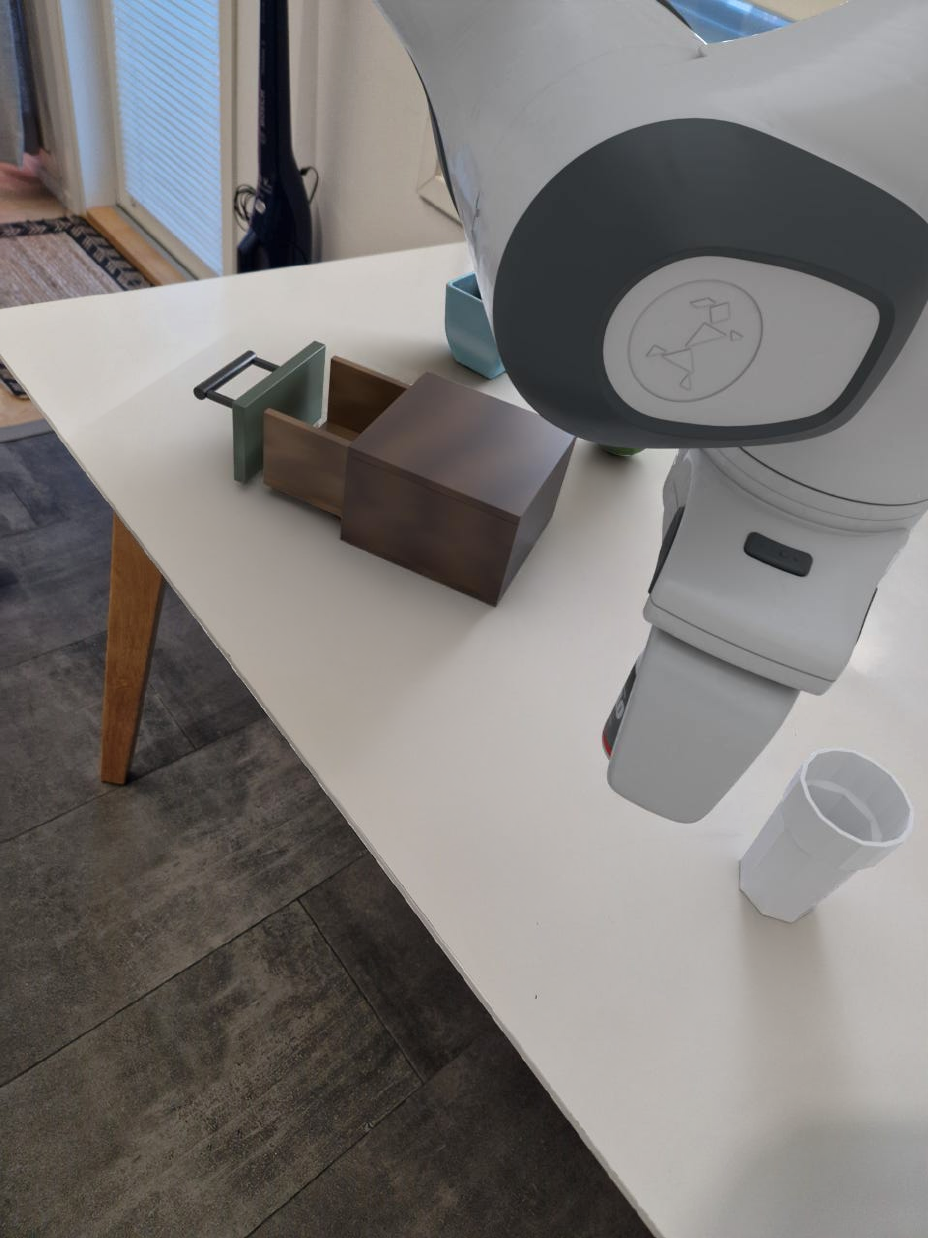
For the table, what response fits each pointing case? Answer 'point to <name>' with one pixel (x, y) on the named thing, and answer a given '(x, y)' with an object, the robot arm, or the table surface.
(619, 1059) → the table surface
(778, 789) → the table surface
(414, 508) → the cabinet
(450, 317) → the flower pot
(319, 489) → the drawer
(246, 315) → the table surface
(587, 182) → the robot arm
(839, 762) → the cup
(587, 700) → the table surface
